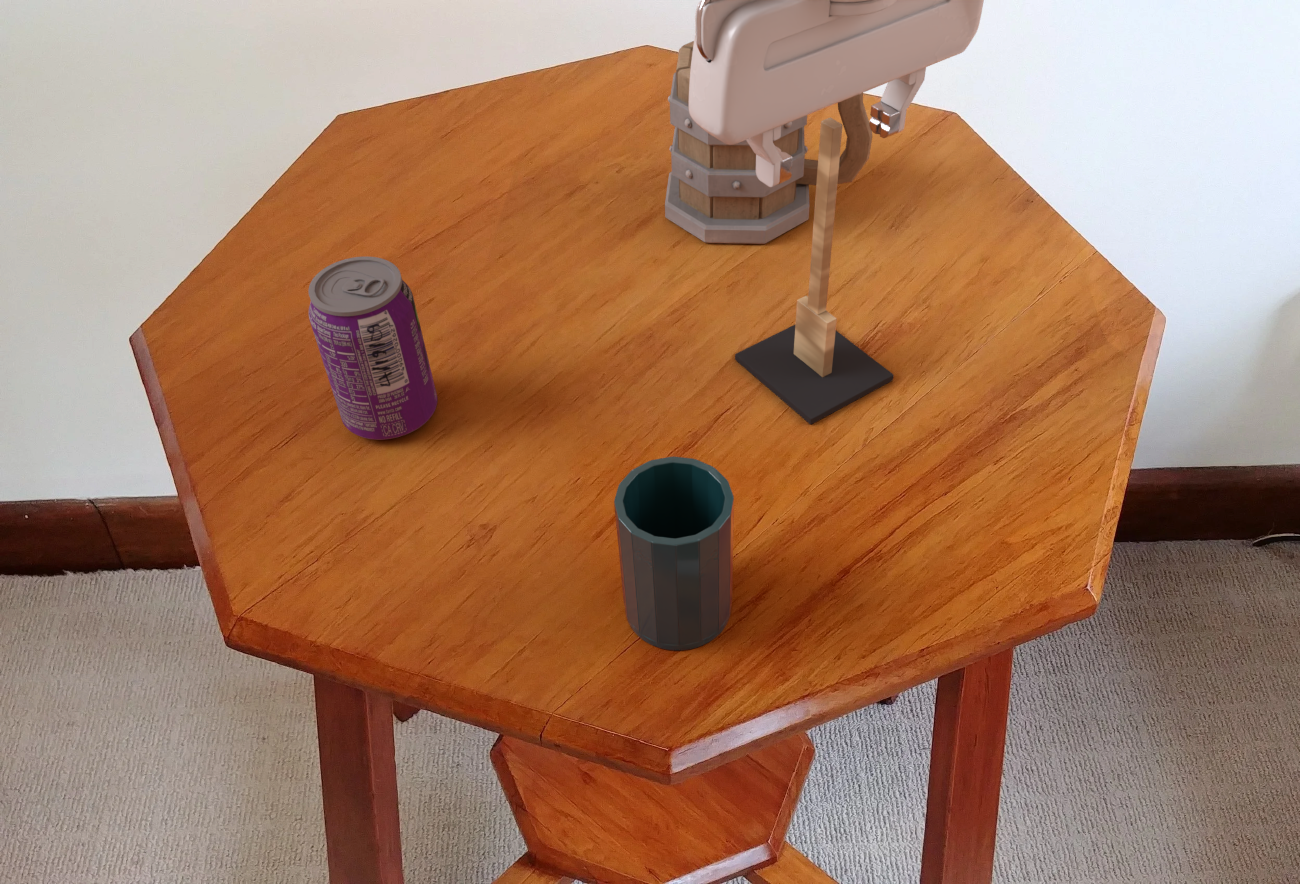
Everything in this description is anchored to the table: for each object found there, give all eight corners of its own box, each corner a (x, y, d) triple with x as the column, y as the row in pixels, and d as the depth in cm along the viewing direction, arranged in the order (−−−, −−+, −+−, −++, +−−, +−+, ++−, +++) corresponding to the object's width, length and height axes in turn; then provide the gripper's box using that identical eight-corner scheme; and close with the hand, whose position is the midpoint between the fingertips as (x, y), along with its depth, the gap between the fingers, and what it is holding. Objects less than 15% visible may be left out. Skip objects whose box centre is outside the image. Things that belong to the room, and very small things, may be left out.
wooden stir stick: (831, 372, 84) (855, 131, 70) (822, 377, 83) (844, 135, 69) (802, 349, 86) (819, 109, 72) (793, 354, 85) (808, 114, 71)
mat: (893, 380, 84) (894, 374, 83) (810, 425, 81) (811, 419, 80) (814, 320, 89) (815, 314, 89) (734, 359, 86) (734, 353, 86)
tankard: (662, 244, 97) (656, 82, 87) (672, 166, 106) (667, 11, 95) (896, 247, 95) (918, 83, 85) (886, 168, 104) (905, 10, 94)
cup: (752, 616, 69) (757, 508, 62) (664, 669, 67) (658, 563, 60) (690, 549, 73) (687, 440, 66) (605, 597, 71) (592, 489, 63)
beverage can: (453, 388, 85) (424, 258, 77) (417, 453, 80) (382, 323, 72) (367, 375, 87) (329, 246, 78) (326, 439, 82) (282, 309, 73)
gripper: (733, 3, 56) (731, 234, 66) (1019, -95, 64) (979, 125, 74) (662, -35, 60) (669, 188, 70) (940, -124, 68) (912, 89, 78)
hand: (831, 155), depth 72 cm, fingers open, 8 cm apart
